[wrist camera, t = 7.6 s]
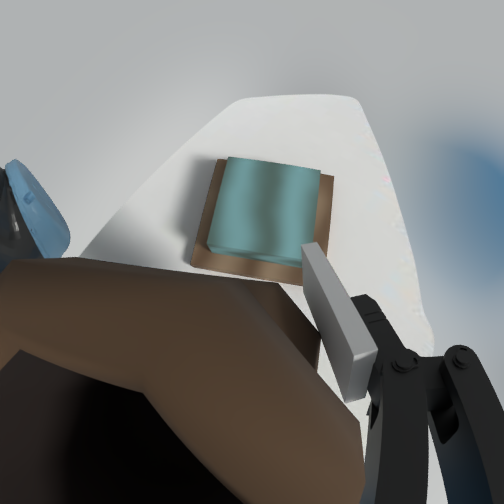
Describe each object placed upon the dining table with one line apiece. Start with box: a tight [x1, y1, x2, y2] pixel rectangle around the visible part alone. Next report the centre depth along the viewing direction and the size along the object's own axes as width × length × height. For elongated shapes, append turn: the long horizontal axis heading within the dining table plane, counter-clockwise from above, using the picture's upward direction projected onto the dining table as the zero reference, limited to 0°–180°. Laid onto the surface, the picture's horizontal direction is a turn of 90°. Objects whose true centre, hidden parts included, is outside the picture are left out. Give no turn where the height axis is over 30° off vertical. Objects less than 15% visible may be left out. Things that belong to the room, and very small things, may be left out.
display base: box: [190, 157, 334, 286], centre depth 38 cm, size 17×16×6 cm
